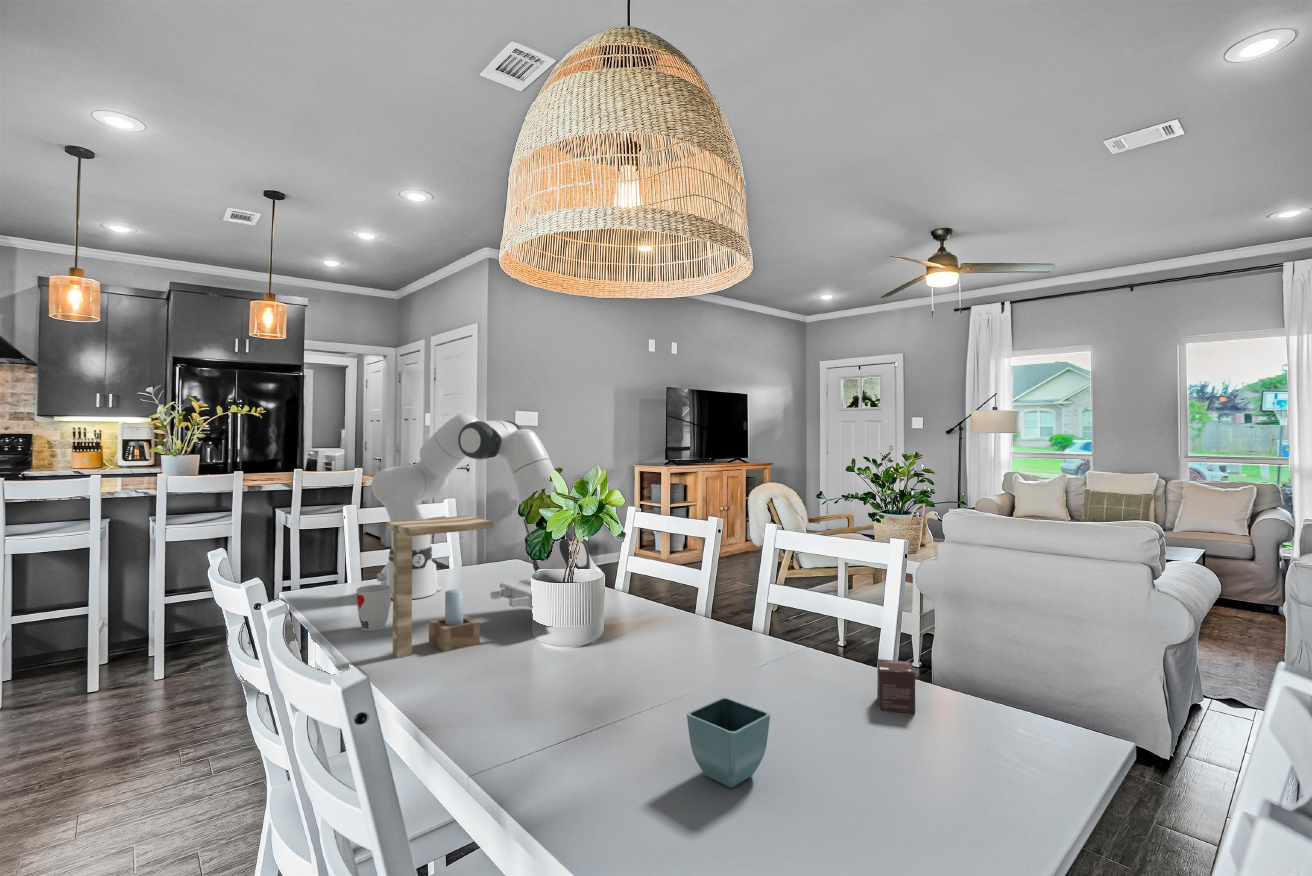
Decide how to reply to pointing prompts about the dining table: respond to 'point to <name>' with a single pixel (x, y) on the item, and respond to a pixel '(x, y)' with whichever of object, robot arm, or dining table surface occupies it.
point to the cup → (373, 606)
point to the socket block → (454, 634)
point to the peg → (453, 607)
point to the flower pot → (728, 739)
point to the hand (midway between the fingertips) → (501, 599)
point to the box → (896, 686)
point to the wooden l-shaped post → (404, 568)
